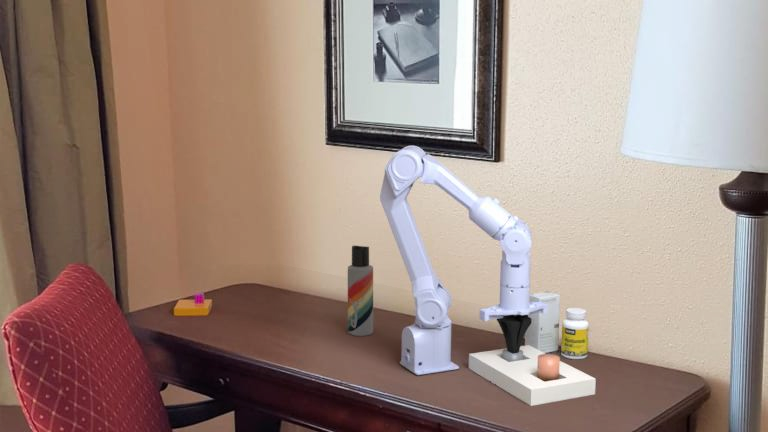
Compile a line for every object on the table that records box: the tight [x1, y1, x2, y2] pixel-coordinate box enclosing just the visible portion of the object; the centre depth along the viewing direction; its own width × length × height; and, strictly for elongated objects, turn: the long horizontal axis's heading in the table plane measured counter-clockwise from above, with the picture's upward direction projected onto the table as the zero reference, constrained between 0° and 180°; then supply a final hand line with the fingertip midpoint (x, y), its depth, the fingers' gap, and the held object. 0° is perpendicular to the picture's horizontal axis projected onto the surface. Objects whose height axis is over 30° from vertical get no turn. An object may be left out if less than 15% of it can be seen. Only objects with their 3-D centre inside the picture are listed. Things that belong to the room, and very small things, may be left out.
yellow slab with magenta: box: [173, 292, 213, 317], centre depth 225 cm, size 8×8×4 cm
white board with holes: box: [468, 345, 597, 407], centre depth 177 cm, size 14×22×3 cm, turn 25°
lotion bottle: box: [347, 245, 374, 337], centre depth 206 cm, size 6×6×20 cm
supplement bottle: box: [560, 307, 590, 360], centre depth 192 cm, size 5×5×10 cm
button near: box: [537, 353, 561, 382], centre depth 171 cm, size 4×4×4 cm
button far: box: [502, 348, 523, 362], centre depth 182 cm, size 4×4×4 cm
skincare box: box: [524, 290, 561, 354], centre depth 195 cm, size 6×4×12 cm
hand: (513, 352), depth 182 cm, fingers closed, pressing on button far
